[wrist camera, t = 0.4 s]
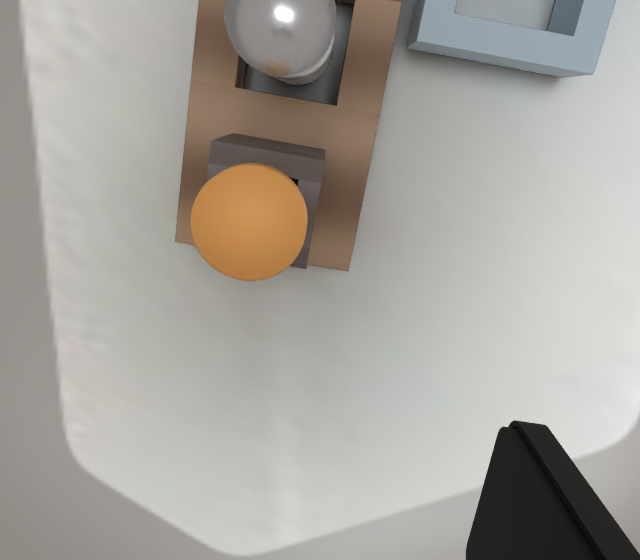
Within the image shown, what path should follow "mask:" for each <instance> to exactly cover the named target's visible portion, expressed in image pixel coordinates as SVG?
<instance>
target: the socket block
mask: <svg viewBox="0 0 640 560" xmlns="http://www.w3.org/2000/svg"><path fill="white" fill-rule="evenodd" d="M335 1H341V2H346V3H351V4H354V5H353V11H352V17H351V22H350V28H349V34H348V39H347V45H346V51H345V57H344V62H343V68H342V74H341V79H340V85H339V91H338V96H337V102H336V106H335V105H329V104H324V103H318V102H313V101H308V100H302V99H297V98H291V97H286V96H280V95H275V94H269V93H264V92H258V91H253V90H248V89H243V85H244V77H245V69H246V62H245V61H244V60H243V59H242V58H241V57H240V55H239V54H238V53H237V51H236V50H235V48H234V47H233V45H232V43H231V41H230V39H229V36H228V33H227V29H226V24H225V3H226V0H199V4H198V14H197V24H196V34H195V44H194V55H193V65H192V75H191V85H190V95H189V105H188V115H187V125H186V135H185V145H184V155H183V165H182V175H181V185H180V195H179V206H178V216H177V226H176V236H175V242H179V243H185V244H191V245H195V242H194V239H193V236H192V232H191V212H192V207H193V204H194V201H195V199H196V197H197V195H198V193H199V192H200V190H201V189H202V187H203V186H204V185H205V184H206V183H207V182H208V181H209V180H210V179H212V178H213V177H214V176H216V175H217V174H219V173H220V172H222V171H223V170H225V169H227V168H229V167H231V166H234V165H237V164H242V163H261V164H265V165H269V166H271V167H274V168H276V169H278V170H280V171H282V172H283V173H284V174H286V175H287V176H288V177H289V178H290V179H291V180H292V181H293V182H294V183H295V184H296V185H297V187H298V188H299V190H300V192H301V193H302V196H303V198H304V200H305V204H306V208H307V216H308V221H307V230H306V236H305V240H304V244H303V246H302V249H301V251H300V253H299V254H298V256H297V257H296V259H295V260H294V261H293V262H292V263H291V264H290V265H289V266H292V267H297V268H303V269H306V267H307V264H308V265H314V266H320V267H326V268H331V269H337V270H343V271H349V266H350V261H351V256H352V251H353V246H354V241H355V236H356V231H357V226H358V221H359V216H360V211H361V206H362V201H363V196H364V191H365V186H366V180H367V175H368V170H369V165H370V160H371V155H372V150H373V145H374V140H375V135H376V130H377V125H378V120H379V115H380V110H381V105H382V100H383V95H384V90H385V85H386V80H387V75H388V70H389V65H390V60H391V55H392V50H393V45H394V40H395V34H396V29H397V24H398V19H399V14H400V9H401V4H402V0H335Z"/></svg>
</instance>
